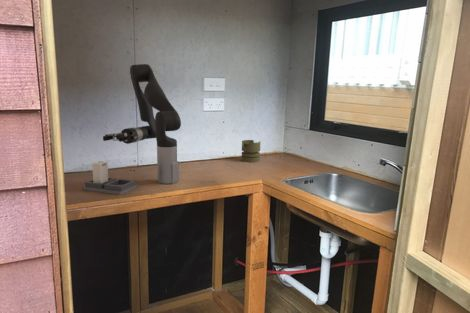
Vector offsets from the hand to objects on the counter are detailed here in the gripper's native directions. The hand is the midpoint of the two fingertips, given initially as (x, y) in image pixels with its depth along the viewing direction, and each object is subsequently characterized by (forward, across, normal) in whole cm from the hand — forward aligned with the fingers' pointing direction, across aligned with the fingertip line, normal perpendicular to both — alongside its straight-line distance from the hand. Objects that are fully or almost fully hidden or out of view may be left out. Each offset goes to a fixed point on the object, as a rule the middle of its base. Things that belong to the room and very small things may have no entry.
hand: (111, 138), depth 168 cm
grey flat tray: (+10, +5, +21) cm, 23 cm away
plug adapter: (+10, 0, +19) cm, 22 cm away
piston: (-73, +46, +20) cm, 89 cm away
